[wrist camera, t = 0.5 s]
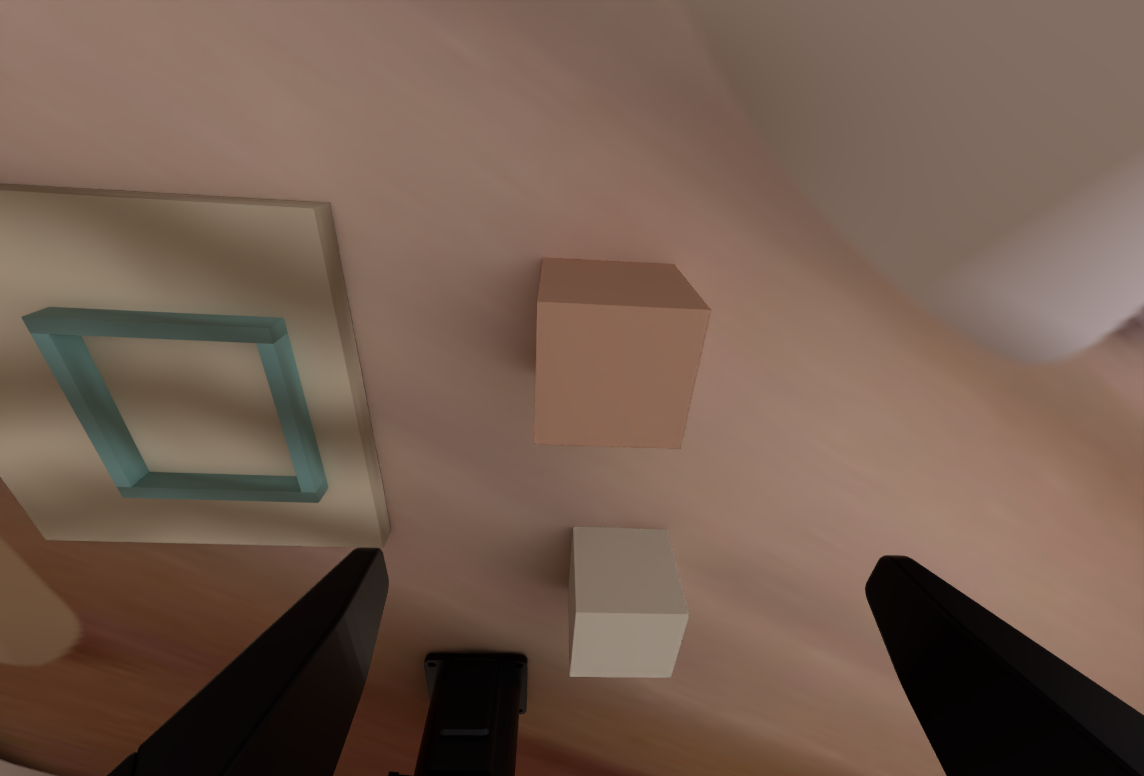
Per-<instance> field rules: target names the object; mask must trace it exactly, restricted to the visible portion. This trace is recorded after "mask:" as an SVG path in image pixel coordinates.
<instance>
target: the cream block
mask: <svg viewBox="0 0 1144 776" xmlns="http://www.w3.org/2000/svg"><path fill="white" fill-rule="evenodd" d="M568 612H569V672H570V677H652V678H671V675H672V672H673V668H674V665H675V662H676V658H677V655H678V651H679V648H680V645H681V641H682V638H683V635H684V631H685V628H686V624H687V621H688V618H689V611H688V607H687V603H686V599H685V595H684V592H683V588H682V584H681V580H680V576H679V573H678V569H677V565H676V561H675V557H674V554H673V550H672V546H671V542H670V538H669V535H668V531H667V529H639V528H601V527H573V537H572V548H571V560H570V572H569V584H568Z"/></svg>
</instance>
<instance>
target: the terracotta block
mask: <svg viewBox="0 0 1144 776" xmlns="http://www.w3.org/2000/svg"><path fill="white" fill-rule="evenodd" d="M710 312H711V309H710V308H709V307H708V306H707V304H706V303H705V302H704V301H703V299H702V298H701V297H700V296H699V294H698V293H697V292H696V291H695V289H694V288H693V287H692V286H691V285H690V283H689V282H688V281H687V280H686V278H685V277H684V276H683V275H682V273H681V272H680V271H679V270H678V268H677V267H676V266H675V265H674V264H657V263H639V262H620V261H601V260H583V259H564V258H545V257H543V259H542V267H541V275H540V283H539V292H538V300H537V335H536V380H535V425H534V444H546V445H576V446H606V447H636V448H667V449H681V445H682V441H683V436H684V431H685V427H686V422H687V418H688V413H689V409H690V404H691V399H692V395H693V390H694V386H695V381H696V376H697V372H698V367H699V363H700V358H701V354H702V349H703V344H704V340H705V335H706V331H707V326H708V322H709V317H710Z"/></svg>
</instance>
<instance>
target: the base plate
mask: <svg viewBox="0 0 1144 776" xmlns="http://www.w3.org/2000/svg"><path fill="white" fill-rule="evenodd" d="M0 477H1V478H2V480H3V481H4V482H5V484H6V485H7V486H8V488H9V489H10V491H11V492H12V493H13V495H14V496H15V498H16V499H17V500H18V502H19V503H20V505H21V506H22V507H23V509H24V510H25V512H26V513H27V514H28V516H29V517H30V519H31V520H32V521H33V523H34V524H35V526H36V527H37V528H38V530H39V531H40V533H41V534H42V535H43V537H44V538H45V540H69V541H112V542H154V543H196V544H238V545H280V546H323V547H369V548H383V547H384V545H385V543H386V540H387V538H388V535H389V533H390V531H391V527H390V522H389V517H388V511H387V506H386V501H385V495H384V490H383V485H382V479H381V474H380V469H379V463H378V458H377V453H376V447H375V442H374V437H373V431H372V426H371V421H370V416H369V410H368V405H367V400H366V394H365V389H364V384H363V378H362V373H361V368H360V362H359V357H358V352H357V346H356V341H355V336H354V330H353V325H352V320H351V314H350V309H349V304H348V298H347V293H346V288H345V282H344V277H343V272H342V266H341V261H340V256H339V251H338V245H337V240H336V235H335V229H334V224H333V219H332V213H331V208H330V203H322V202H305V201H287V200H270V199H253V198H236V197H219V196H202V195H185V194H168V193H151V192H134V191H117V190H100V189H83V188H65V187H48V186H31V185H14V184H0Z"/></svg>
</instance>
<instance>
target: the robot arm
mask: <svg viewBox="0 0 1144 776" xmlns="http://www.w3.org/2000/svg"><path fill="white" fill-rule="evenodd" d="M388 586H389V579H388V574H387V569H386V565H385V560H384V556H383V552H382V550H381V549H380V548H369V547H360V548H356V549H355V550H353V551H352V552H351V553H350V554H348V555H347V556H346V557H345V558H344V559H343V560H342V561H341V562H340V563H339V564H338V565H336V566H335V567H334V568H333V569H332V570H331V571H330V572H329V573H328V574H327V575H326V576H324V577H323V578H322V579H321V580H320V581H319V582H318V583H317V584H316V585H315V586H314V587H312V588H311V589H310V590H309V591H308V592H307V593H306V594H305V595H304V596H303V597H302V598H300V599H299V600H298V601H297V602H296V603H295V604H294V605H293V606H292V607H291V608H290V609H288V610H287V611H286V612H285V613H284V614H283V615H282V616H281V617H280V618H279V619H278V620H276V621H275V622H274V623H273V624H272V625H271V626H270V627H269V628H268V629H267V630H266V631H265V632H263V633H262V634H261V635H260V636H259V637H258V638H257V639H256V640H255V641H254V642H253V643H251V644H250V645H249V646H248V647H247V648H246V649H245V650H244V651H243V652H242V653H241V654H239V655H238V656H237V657H236V658H235V659H234V660H233V661H232V662H231V663H230V664H229V665H227V666H226V667H225V668H224V669H223V670H222V671H221V672H220V673H219V674H218V675H217V676H215V677H214V678H213V679H212V680H211V681H210V682H209V683H208V684H207V685H206V686H205V687H203V688H202V689H201V690H200V691H199V692H198V693H197V694H196V695H195V696H194V697H193V698H191V699H190V700H189V701H188V702H187V703H186V704H185V705H184V706H183V707H182V708H181V709H179V710H178V711H177V712H176V713H175V714H174V715H173V716H172V717H171V718H170V719H169V720H167V721H166V722H165V723H164V724H163V725H162V726H161V727H160V728H159V729H158V730H157V731H155V732H154V733H153V734H152V735H151V736H150V737H149V738H148V739H147V740H146V741H145V742H143V743H142V744H141V745H140V746H139V748H138V751H137V752H134V753H131V754H130V755H129V756H128V757H127V758H126V759H125V760H124V761H122V762H121V763H120V764H119V765H118V766H117V767H116V768H115V769H114V770H113V771H112V772H110V773H109V774H108V775H107V776H333V774H334V771H335V769H336V766H337V763H338V760H339V757H340V754H341V752H342V749H343V746H344V743H345V740H346V737H347V735H348V732H349V729H350V726H351V723H352V720H353V718H354V715H355V712H356V709H357V706H358V704H359V701H360V698H361V695H362V692H363V689H364V685H365V682H366V678H367V675H368V671H369V667H370V663H371V659H372V655H373V650H374V646H375V642H376V638H377V634H378V630H379V626H380V622H381V618H382V613H383V609H384V605H385V601H386V597H387V593H388ZM865 593H866V597H867V600H868V603H869V606H870V608H871V611H872V613H873V616H874V618H875V621H876V623H877V626H878V628H879V631H880V633H881V636H882V638H883V641H884V643H885V646H886V648H887V651H888V653H889V656H890V658H891V661H892V664H893V666H894V669H895V671H896V673H897V676H898V678H899V680H900V683H901V685H902V687H903V689H904V691H905V693H906V696H907V698H908V700H909V702H910V704H911V706H912V708H913V710H914V712H915V714H916V716H917V718H918V720H919V722H920V724H921V726H922V728H923V730H924V732H925V734H926V736H927V738H928V740H929V742H930V744H931V746H932V748H933V750H934V752H935V754H936V756H937V758H938V760H939V762H940V763H941V765H942V767H943V769H944V771H945V773H946V775H947V776H1144V715H1143V714H1141V713H1140V712H1138V711H1137V710H1135V709H1134V708H1132V707H1131V706H1129V705H1128V704H1126V703H1125V702H1123V701H1122V700H1120V699H1119V698H1117V697H1116V696H1114V695H1113V694H1111V693H1110V692H1108V691H1107V690H1106V689H1104V688H1103V687H1101V686H1100V685H1098V684H1097V683H1095V682H1094V681H1092V680H1091V679H1089V678H1088V677H1086V676H1085V675H1083V674H1082V673H1080V672H1079V671H1077V670H1076V669H1074V668H1073V667H1071V666H1070V665H1068V664H1067V663H1066V662H1064V661H1063V660H1061V659H1060V658H1058V657H1057V656H1055V655H1054V654H1052V653H1051V652H1049V651H1048V650H1046V649H1045V648H1043V647H1042V646H1040V645H1039V644H1037V643H1036V642H1034V641H1033V640H1031V639H1030V638H1028V637H1027V636H1025V635H1024V634H1023V633H1021V632H1020V631H1018V630H1017V629H1015V628H1014V627H1012V626H1011V625H1009V624H1008V623H1006V622H1005V621H1003V620H1002V619H1000V618H999V617H997V616H996V615H994V614H993V613H991V612H990V611H988V610H987V609H985V608H984V607H983V606H981V605H980V604H978V603H977V602H975V601H974V600H972V599H971V598H969V597H968V596H966V595H965V594H963V593H962V592H960V591H959V590H957V589H956V588H954V587H953V586H951V585H950V584H948V583H947V582H945V581H944V580H942V579H941V578H940V577H938V576H937V575H935V574H934V573H932V572H931V571H929V570H928V569H926V568H925V567H923V566H922V565H920V564H919V563H917V562H916V561H914V560H913V559H911V558H909V557H907V556H897V555H886V556H883V557H881V558H880V559H879V560H878V562H877V564H876V566H875V568H874V570H873V571H872V573H871V575H870V577H869V579H868V581H867V583H866V586H865ZM527 664H528V659H527V657H526V656H523V655H488V654H429V655H427V656H426V658H425V662H424V668H425V674H426V679H427V685H428V691H429V697H430V705H429V710H428V714H427V719H426V723H425V728H424V732H423V736H422V741H421V745H420V750H419V754H418V759H417V763H416V768H415V772H414V776H515V764H516V749H517V735H518V721H519V714H524V713H525V712H526V707H527ZM388 776H410V775H399V772H390V771H389V775H388Z"/></svg>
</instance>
